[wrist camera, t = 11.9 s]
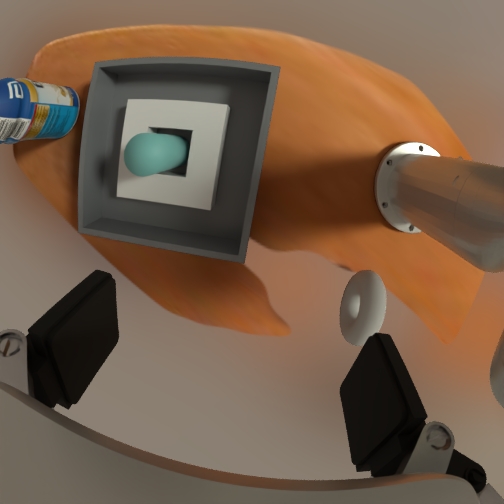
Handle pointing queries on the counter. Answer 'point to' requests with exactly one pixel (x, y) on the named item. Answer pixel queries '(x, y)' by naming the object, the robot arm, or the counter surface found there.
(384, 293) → the donut
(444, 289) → the counter surface
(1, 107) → the beverage bottle
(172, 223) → the open box
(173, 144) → the peg
